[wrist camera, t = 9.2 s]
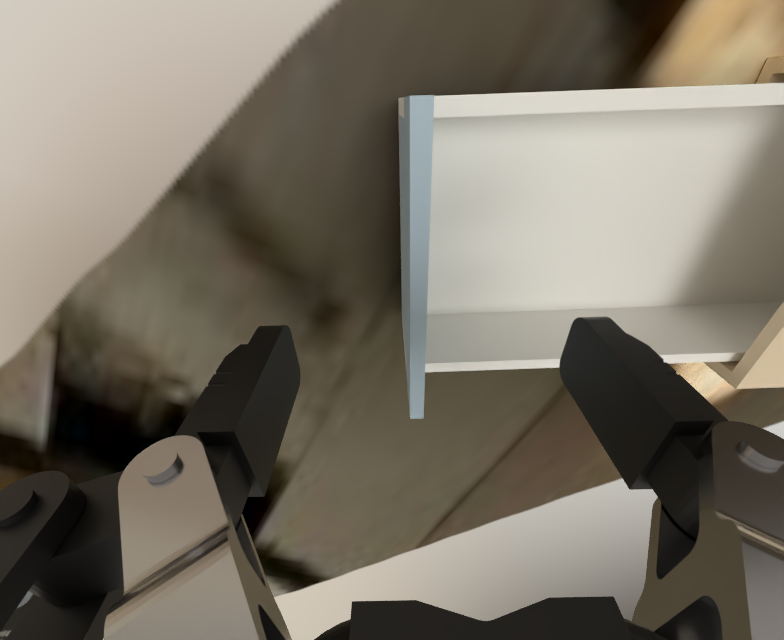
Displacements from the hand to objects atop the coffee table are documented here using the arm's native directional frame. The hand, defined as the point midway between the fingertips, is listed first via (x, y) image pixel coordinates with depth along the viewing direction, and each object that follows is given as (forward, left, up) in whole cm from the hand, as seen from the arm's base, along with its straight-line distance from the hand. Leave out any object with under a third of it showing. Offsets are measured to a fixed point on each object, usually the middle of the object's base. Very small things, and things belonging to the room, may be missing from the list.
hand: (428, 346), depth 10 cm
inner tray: (-12, 0, -10) cm, 16 cm away
